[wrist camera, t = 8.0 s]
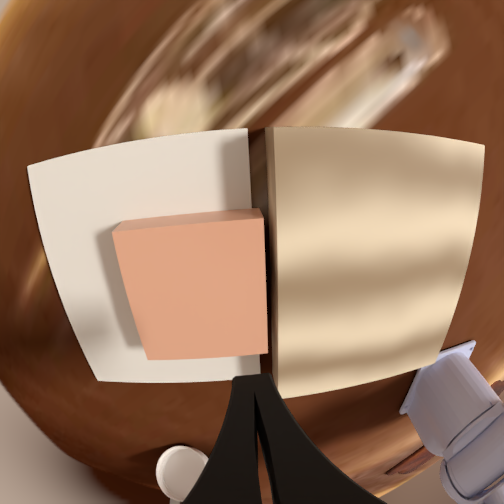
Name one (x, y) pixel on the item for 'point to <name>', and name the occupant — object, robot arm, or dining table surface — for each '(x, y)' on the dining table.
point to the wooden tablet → (423, 453)
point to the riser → (365, 250)
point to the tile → (196, 283)
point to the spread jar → (179, 471)
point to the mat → (128, 208)
